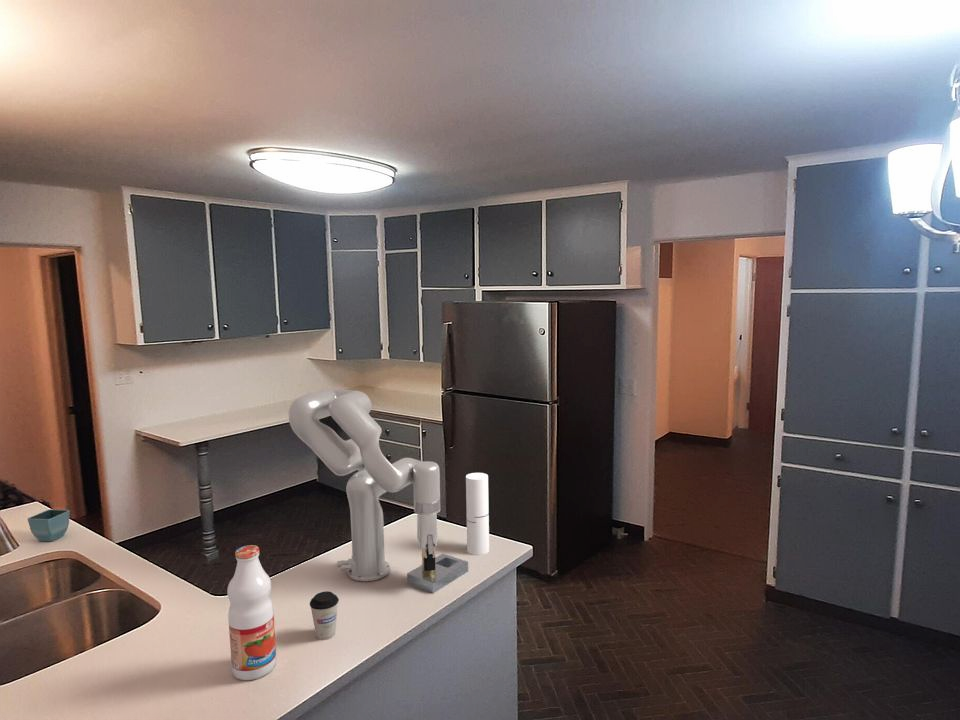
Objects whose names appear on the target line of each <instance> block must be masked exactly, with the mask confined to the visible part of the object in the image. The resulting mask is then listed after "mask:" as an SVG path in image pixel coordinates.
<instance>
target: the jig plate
mask: <svg viewBox="0 0 960 720" xmlns="http://www.w3.org/2000/svg"><path fill="white" fill-rule="evenodd" d="M435 568H436V573H435V574H434V575H432V576H425V575H423V574H422V564H421V565H419V566H418V567H416V568H415V569H412V570H411V571H409V572H407V573H406V583H407V585H408V584H409V585H410V586H413V587H415V588H418V589H421V590H423V591H426V592H429V593H431V594H435V593H437V592H438V591H440V590H441V589H443V588H444V587H446V586H447V585H449V584H450V583H451V584H452V582H454V581H455V580H457V579H458V578H460V577H462V576H463V575H465V574H466V573H468V572H469V562H468V561H467V560H463V559H461V558H458V557H454V556H452V555H449V554H445V553H441V554H439V555H438V556H435Z"/></svg>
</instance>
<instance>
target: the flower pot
mask: <svg viewBox="0 0 960 720" xmlns="http://www.w3.org/2000/svg"><path fill="white" fill-rule="evenodd" d="M27 523H28V525H29V530H30V531H31V534H32V535H33V536H34V537H35V538H36V540H38V541H39V542H53V541H56V540H57V539H60V538H62V537H64V536H65V534H66V532H67V531H68V528H69V525H70V509H47V510H45V511H42V512H40V513H37V514H35V515H33V516H29V517H28V518H27Z"/></svg>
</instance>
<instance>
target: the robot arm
mask: <svg viewBox="0 0 960 720" xmlns="http://www.w3.org/2000/svg"><path fill="white" fill-rule="evenodd" d="M371 411H372V400H371V398H369V396H368V395H367V394H366V393H365V392H363V391H360V390H351V389H336V388H327V389H325V388H324V389H321V390H317V391H314V392H309V393H306V394H303V395H301V396H299V397H297V398H295V399H294V400H293V401H292V402H291V404H290V405H289V409H288V422H289V426H290V427H291V429H292V432H293V433H294V434H295V435H296V436H297V437H298V438H299V439H300V441H302V442H303V443H305V445H307V446H308V447H309V449H311V450H312V451H313V452H314V454H315V455H316V456H317V457H318V458H319V459H320V460H321V461H322V463H324V465H325V466H326V467H327V468H328V469H329V470H330V471H331V472H332V473H333V474H335V476H338V477H339V476H340V477H344V476H347V475H349V474H351V473H353V472H355V471H357V472H355V473H354V474H353V475H352V476H351V477H350V478H349V479H348V481H347V483H346V488H345V489H346V495H347V496H346V497H347V500H348V505H349V512H350V515H349V516H350V528H351V529H350V530H351V549H352V550H351V557H350V558H348V559H345V560H337V561H336V564H337V568H340V570H341V571H345V570H347V575H348V577H349V578H350V579H352V580H353V581H357V582H373V581H378V580H380V579H382V578H384V577H386V576H387V575H388V574H390V572H391V565H390V563H389V562H387V561H386V559H385V558H386V557H385V534H384V533H385V530H384V526H385V525H384V512H383V508H382V505H381V503H380V500H379V498H380V497H381V496H382V495H383V494H386V493H387V492H388V493H397V492H400V491H402V490H403V489H404V488H406V487H407V486H410V485H412V484H413V487H412V488H413V511H414V513H415V514H416V515H417V516H416V517H417V519H416V521H417V525H416V527H417V531H416V533H417V535H416V536H417V542H418V546H419V549H420V550H422V549H423V548H424V552H425V557H424V571H432V570H435V557H436V552H435V553H434V547H435V549H436V548H437V547H438V519H437V518H438V516H437V514H438V513H440V511H441V478H440V477H441V476H440V472H441V471H440V466H439V464H438V463H436V462H435V461H427V460H426V461H425V460H424V461H422V460H419V459H416V458H412V457H403V458H400V459H399V460H397V461H395V462H393V463H391V462H390V461H389V460H388V459H387V458H386V457H385V455H384V454H383V453H382V450H381V447H380V437H381V435H382V433H383V432H382V431H383V430H382V427H381V426H380V425H379V423H377V421H376V420H375V419H373V417H372V416H371V415H370V412H371ZM330 416H331V418H332V420H334V422H336V424H337V425H338V426H339V427H340V428H341V430H343V432H344V433H345V434H346V435H347V436H348V437H349V439H346V440H344V439H343V438H342V437H340V436H339V434H338V433H337V432H336V431H335V430H334V429H333V428H331V427H330V426H329V425H327V424H324V422H321V421H320V420H321V419H324V418H328V417H330ZM426 545H428V546H426ZM427 549H428V551H427Z"/></svg>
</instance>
